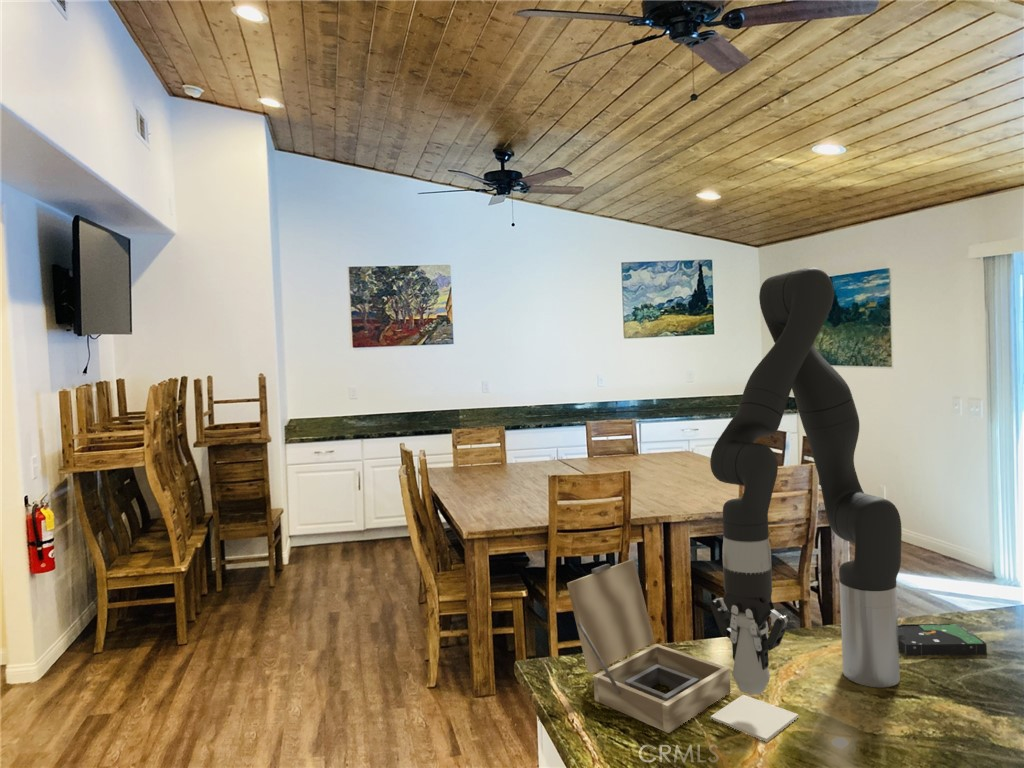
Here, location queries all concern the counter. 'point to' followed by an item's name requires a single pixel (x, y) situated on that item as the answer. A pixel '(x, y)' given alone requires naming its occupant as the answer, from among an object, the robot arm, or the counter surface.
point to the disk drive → (938, 640)
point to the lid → (610, 613)
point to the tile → (755, 717)
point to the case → (659, 664)
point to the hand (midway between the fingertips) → (750, 667)
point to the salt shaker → (748, 661)
